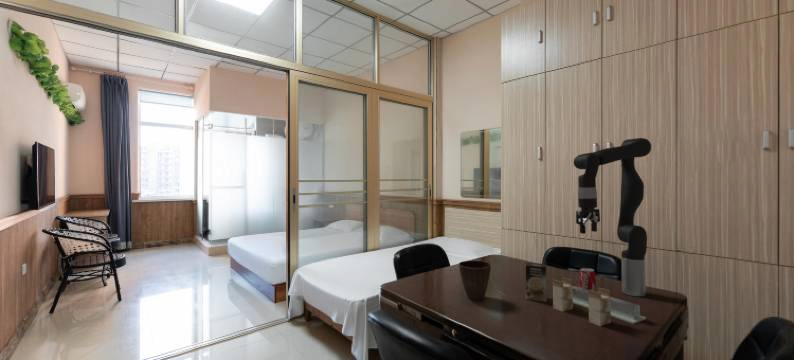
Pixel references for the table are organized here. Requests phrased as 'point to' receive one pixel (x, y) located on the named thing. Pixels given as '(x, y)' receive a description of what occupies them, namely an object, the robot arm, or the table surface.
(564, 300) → the post
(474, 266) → the plant pot
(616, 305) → the rail
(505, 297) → the table surface
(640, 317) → the felt mat
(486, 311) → the table surface
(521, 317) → the table surface
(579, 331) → the table surface
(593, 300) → the post
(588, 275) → the soda can
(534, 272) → the coffee box
